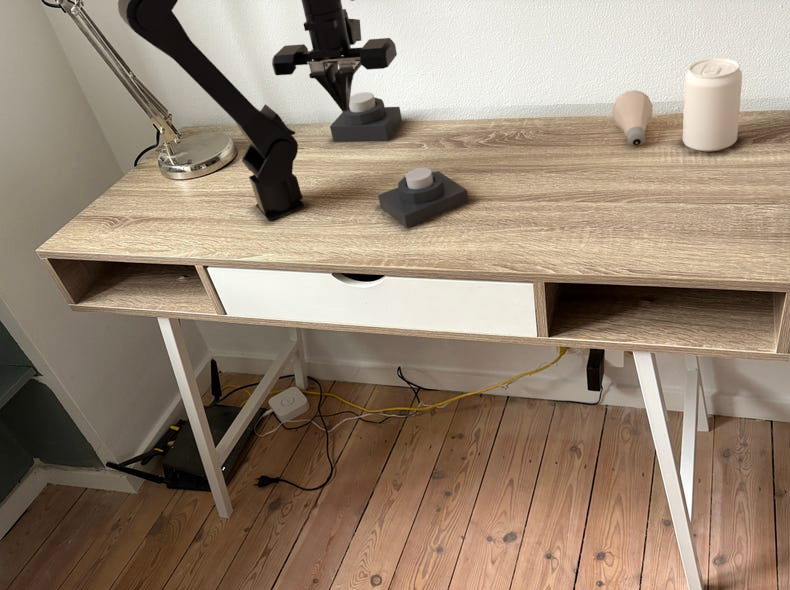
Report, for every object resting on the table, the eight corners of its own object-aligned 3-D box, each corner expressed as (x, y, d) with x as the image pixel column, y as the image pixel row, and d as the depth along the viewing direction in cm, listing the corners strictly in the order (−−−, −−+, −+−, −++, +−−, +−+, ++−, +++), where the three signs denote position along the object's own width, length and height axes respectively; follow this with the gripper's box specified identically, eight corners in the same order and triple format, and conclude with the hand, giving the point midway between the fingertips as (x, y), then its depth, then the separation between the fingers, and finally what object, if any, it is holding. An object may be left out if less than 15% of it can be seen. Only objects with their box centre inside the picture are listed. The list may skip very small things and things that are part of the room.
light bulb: (654, 121, 127) (647, 76, 133) (611, 132, 129) (606, 88, 135) (661, 152, 132) (654, 108, 138) (620, 163, 134) (614, 118, 140)
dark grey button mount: (402, 121, 154) (397, 96, 151) (388, 140, 149) (382, 114, 146) (349, 123, 158) (343, 97, 155) (333, 141, 152) (327, 116, 149)
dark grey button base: (407, 228, 123) (402, 205, 120) (380, 207, 129) (375, 184, 127) (469, 202, 126) (465, 178, 124) (440, 183, 133) (436, 160, 130)
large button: (379, 102, 151) (377, 91, 150) (370, 113, 148) (368, 102, 147) (355, 103, 153) (353, 92, 152) (346, 114, 150) (343, 103, 148)
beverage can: (743, 134, 129) (750, 58, 122) (727, 157, 124) (733, 79, 117) (692, 129, 133) (696, 55, 126) (675, 151, 128) (677, 75, 121)
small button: (415, 193, 123) (413, 182, 122) (403, 184, 126) (401, 174, 125) (438, 183, 125) (436, 173, 123) (425, 175, 127) (423, 165, 126)
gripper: (397, -13, 125) (413, 87, 135) (286, -3, 130) (309, 93, 140) (376, 11, 117) (395, 115, 127) (258, 21, 122) (285, 120, 132)
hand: (345, 110), depth 132 cm, fingers closed
